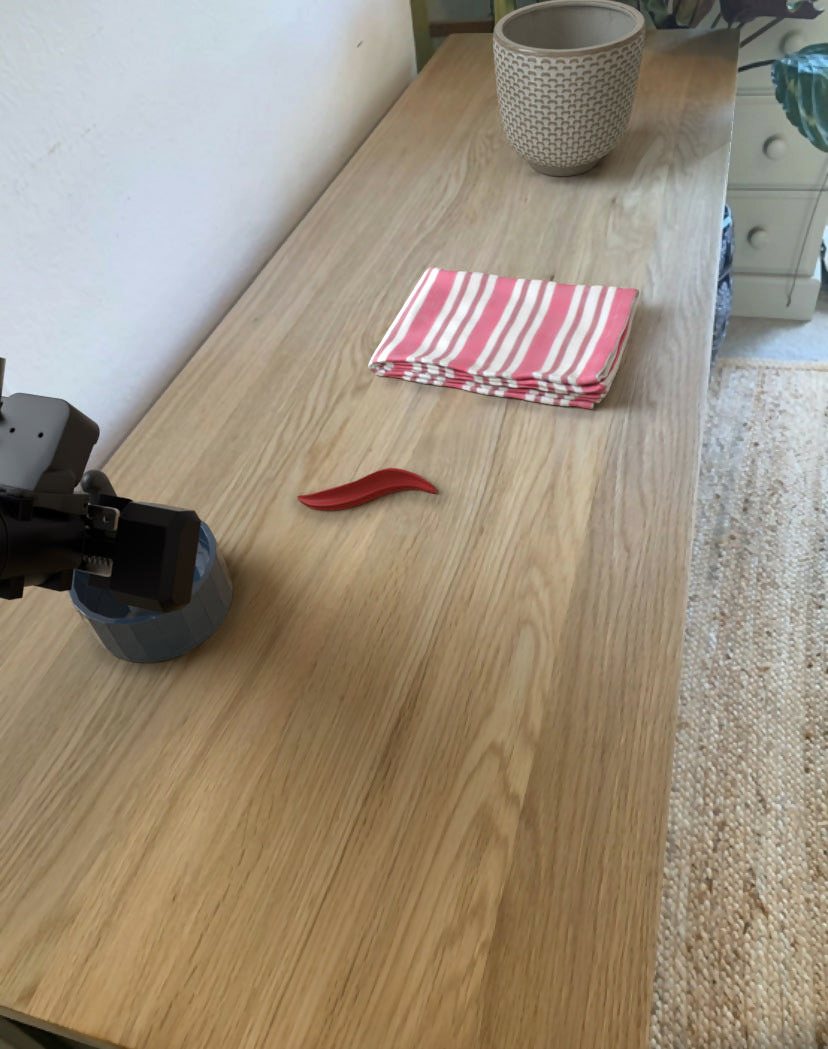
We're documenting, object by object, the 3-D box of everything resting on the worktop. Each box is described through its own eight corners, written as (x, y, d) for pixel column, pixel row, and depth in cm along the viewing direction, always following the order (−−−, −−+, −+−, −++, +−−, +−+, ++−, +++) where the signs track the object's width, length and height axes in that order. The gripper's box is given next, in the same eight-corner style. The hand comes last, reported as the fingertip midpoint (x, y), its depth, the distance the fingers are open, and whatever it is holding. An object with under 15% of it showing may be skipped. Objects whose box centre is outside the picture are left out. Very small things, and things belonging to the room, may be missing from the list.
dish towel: (605, 414, 76) (608, 384, 74) (366, 377, 83) (361, 348, 81) (640, 307, 87) (643, 276, 84) (424, 281, 94) (421, 252, 91)
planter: (510, 129, 117) (508, -2, 105) (639, 132, 112) (653, -4, 101) (482, 191, 106) (477, 52, 94) (624, 197, 102) (638, 52, 90)
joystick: (152, 633, 64) (80, 504, 54) (122, 607, 66) (47, 477, 56) (194, 600, 66) (132, 468, 55) (163, 575, 68) (98, 444, 57)
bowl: (71, 660, 64) (43, 621, 60) (120, 548, 71) (98, 507, 67) (212, 666, 62) (192, 626, 59) (247, 550, 70) (231, 509, 66)
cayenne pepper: (440, 474, 73) (438, 458, 72) (433, 514, 70) (431, 498, 69) (305, 471, 75) (301, 455, 74) (293, 509, 72) (288, 493, 71)
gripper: (130, 418, 43) (268, 437, 58) (-151, 374, 48) (42, 401, 63) (103, 632, 44) (246, 597, 59) (-170, 566, 49) (25, 549, 64)
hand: (136, 530), depth 62 cm, fingers closed on joystick, 2 cm apart
